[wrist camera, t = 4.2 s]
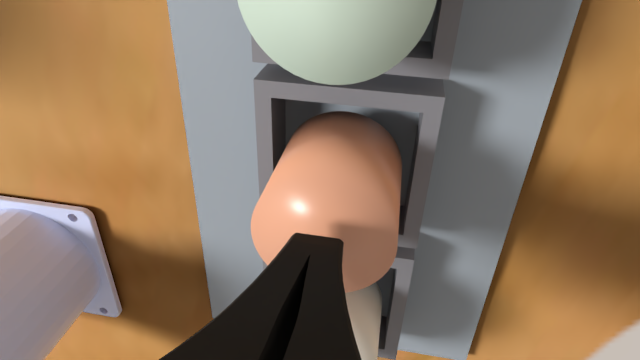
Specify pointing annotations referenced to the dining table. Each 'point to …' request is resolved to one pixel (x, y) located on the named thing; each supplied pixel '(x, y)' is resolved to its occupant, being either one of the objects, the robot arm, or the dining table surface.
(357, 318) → the button cream
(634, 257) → the dining table surface
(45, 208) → the robot arm
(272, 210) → the button terracotta
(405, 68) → the panel
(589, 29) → the dining table surface
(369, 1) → the button sage
